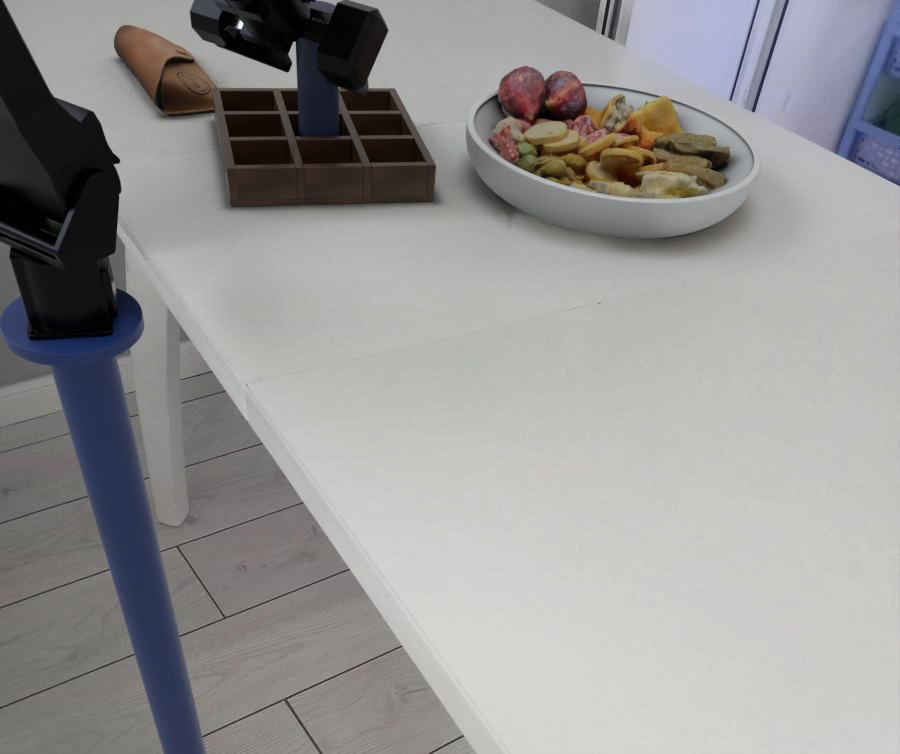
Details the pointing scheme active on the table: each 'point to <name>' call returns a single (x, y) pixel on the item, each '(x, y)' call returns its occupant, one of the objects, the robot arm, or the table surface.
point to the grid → (320, 150)
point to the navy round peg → (315, 88)
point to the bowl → (608, 156)
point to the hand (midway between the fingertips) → (326, 79)
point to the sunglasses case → (165, 71)
